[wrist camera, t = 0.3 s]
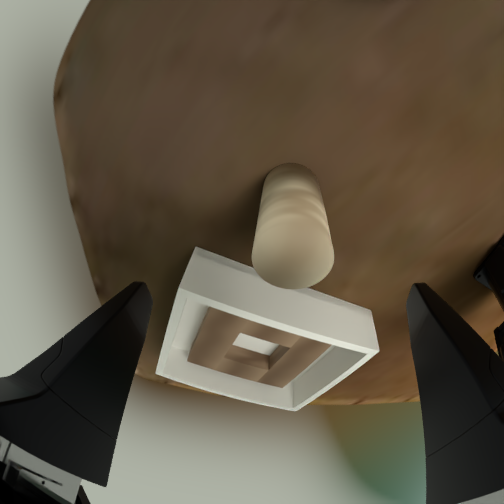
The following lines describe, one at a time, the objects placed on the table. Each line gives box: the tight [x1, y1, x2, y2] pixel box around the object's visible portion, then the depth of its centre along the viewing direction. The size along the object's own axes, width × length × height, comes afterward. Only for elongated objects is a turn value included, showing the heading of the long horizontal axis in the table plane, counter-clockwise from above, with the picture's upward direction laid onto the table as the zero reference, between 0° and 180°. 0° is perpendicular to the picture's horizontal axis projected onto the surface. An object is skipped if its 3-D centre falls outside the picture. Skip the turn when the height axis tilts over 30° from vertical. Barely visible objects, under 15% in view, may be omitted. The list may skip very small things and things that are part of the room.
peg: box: [252, 163, 334, 289], centre depth 17 cm, size 4×4×8 cm
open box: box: [155, 247, 379, 411], centre depth 28 cm, size 18×16×5 cm
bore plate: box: [187, 306, 331, 388], centre depth 29 cm, size 12×12×2 cm
